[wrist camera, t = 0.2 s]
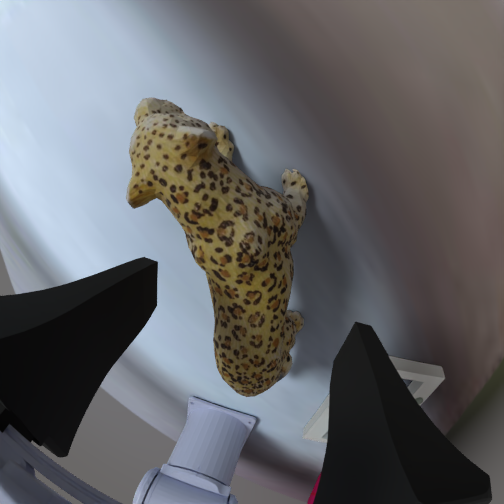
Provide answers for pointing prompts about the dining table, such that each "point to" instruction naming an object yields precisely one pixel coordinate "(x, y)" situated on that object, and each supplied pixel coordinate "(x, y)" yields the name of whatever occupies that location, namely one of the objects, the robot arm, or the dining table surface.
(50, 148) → the dining table surface
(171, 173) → the toy
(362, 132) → the dining table surface
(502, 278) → the dining table surface
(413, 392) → the panel
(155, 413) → the dining table surface
